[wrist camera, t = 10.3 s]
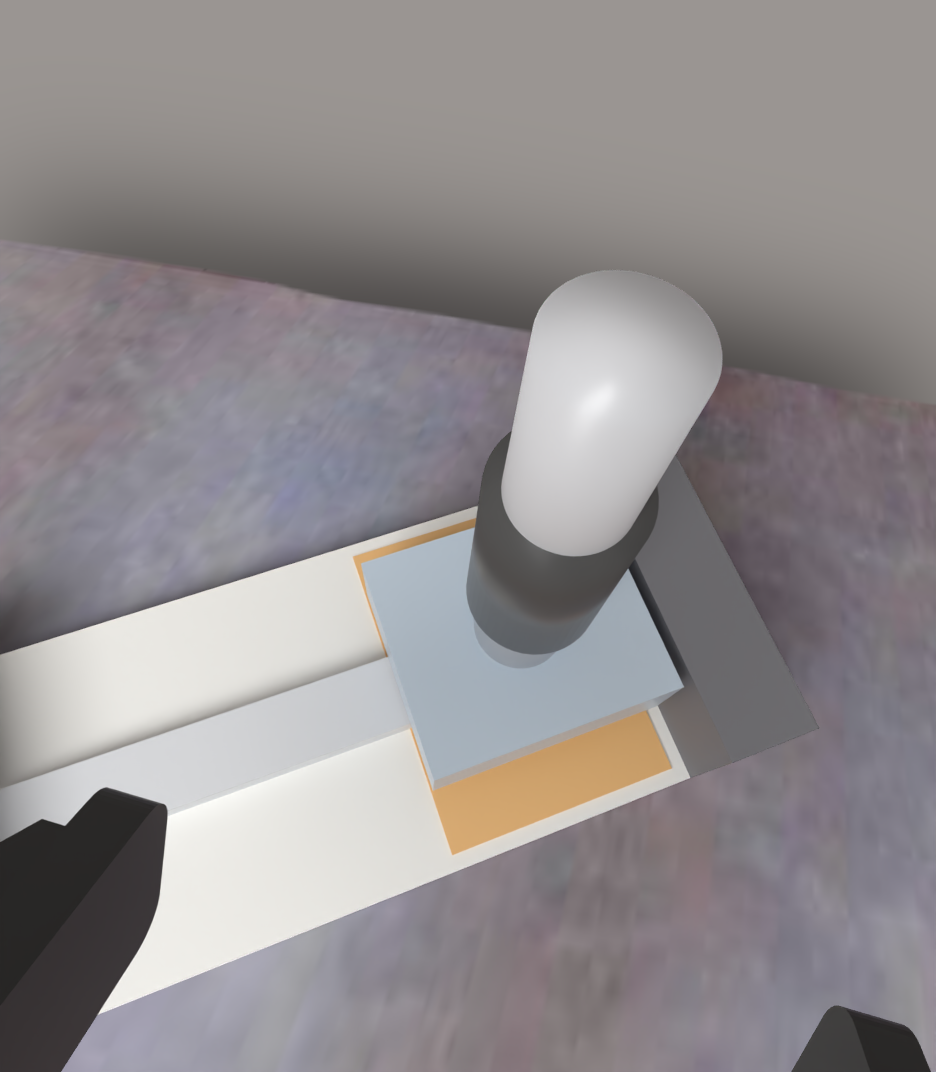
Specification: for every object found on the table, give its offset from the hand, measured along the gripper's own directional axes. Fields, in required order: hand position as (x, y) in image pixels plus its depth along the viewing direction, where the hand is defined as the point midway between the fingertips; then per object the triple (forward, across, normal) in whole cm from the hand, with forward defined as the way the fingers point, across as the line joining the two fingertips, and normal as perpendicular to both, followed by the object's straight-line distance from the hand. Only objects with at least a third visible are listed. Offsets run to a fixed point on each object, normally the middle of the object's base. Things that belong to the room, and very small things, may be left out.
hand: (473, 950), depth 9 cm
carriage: (+17, 0, +5) cm, 18 cm away
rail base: (+16, +5, +10) cm, 20 cm away
